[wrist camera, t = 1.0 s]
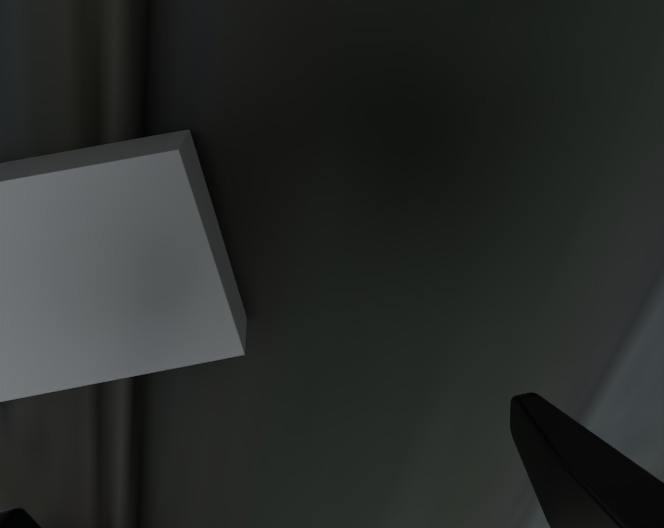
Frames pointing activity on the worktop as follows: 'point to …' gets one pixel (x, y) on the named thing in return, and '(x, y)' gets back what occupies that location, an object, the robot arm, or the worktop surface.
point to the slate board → (111, 267)
